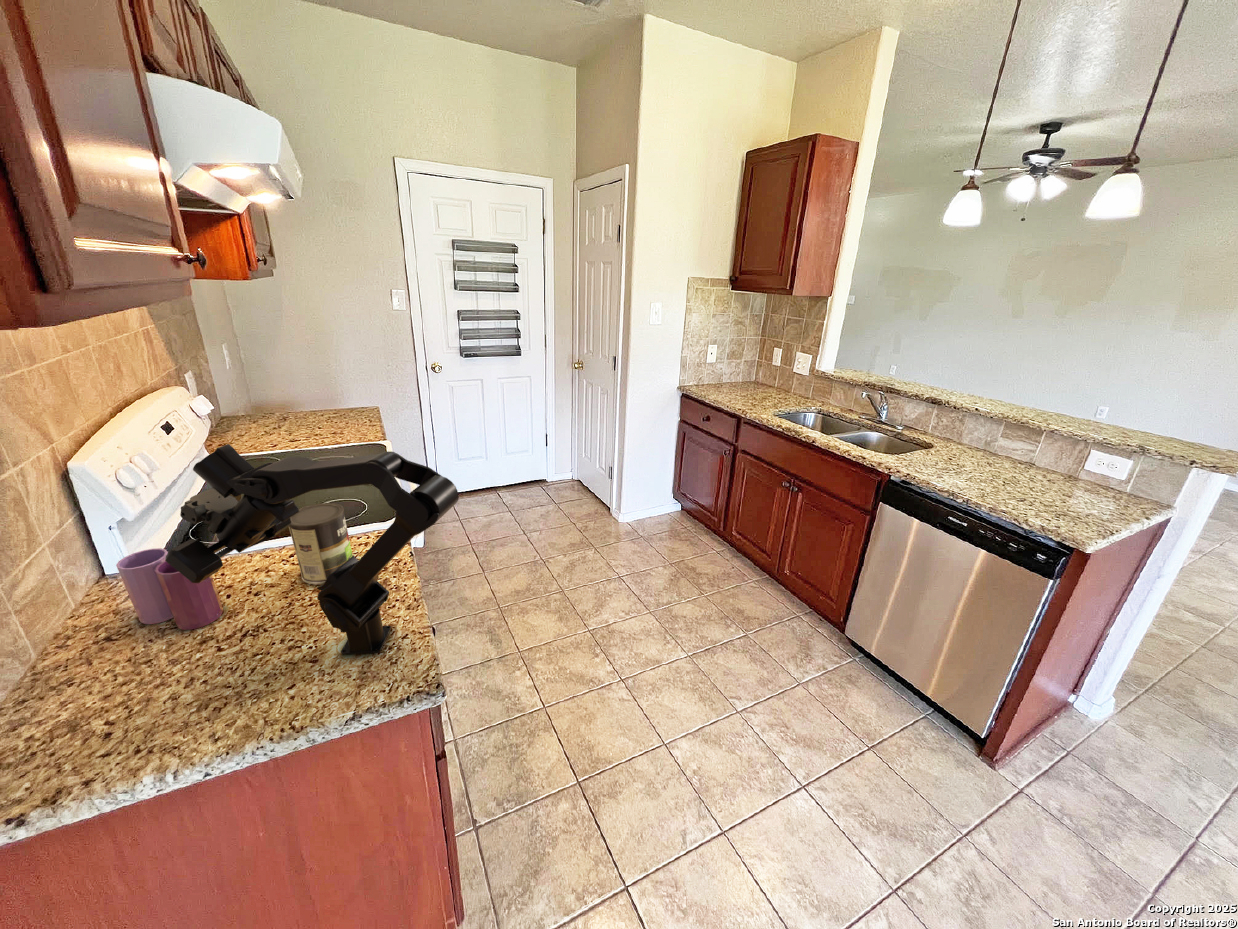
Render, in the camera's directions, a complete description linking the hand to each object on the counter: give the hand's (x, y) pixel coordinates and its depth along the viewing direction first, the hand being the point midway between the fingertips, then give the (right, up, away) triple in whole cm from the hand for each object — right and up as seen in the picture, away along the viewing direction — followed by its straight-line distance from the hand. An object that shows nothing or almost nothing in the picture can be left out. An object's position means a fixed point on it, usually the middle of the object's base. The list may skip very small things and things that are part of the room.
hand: (214, 563), depth 86 cm
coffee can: (+8, -6, +21) cm, 23 cm away
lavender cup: (-15, -11, +7) cm, 20 cm away
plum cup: (-7, -11, +6) cm, 15 cm away
